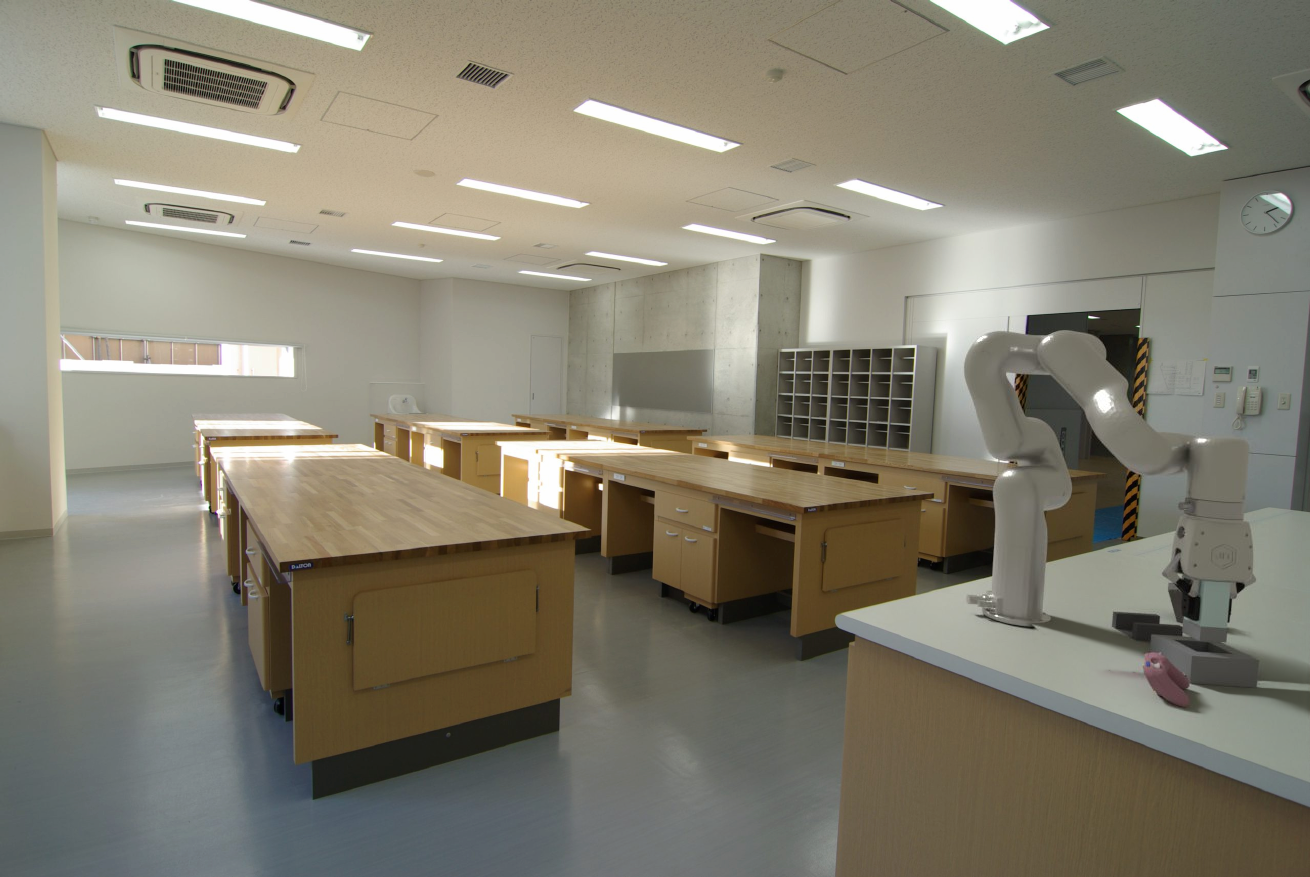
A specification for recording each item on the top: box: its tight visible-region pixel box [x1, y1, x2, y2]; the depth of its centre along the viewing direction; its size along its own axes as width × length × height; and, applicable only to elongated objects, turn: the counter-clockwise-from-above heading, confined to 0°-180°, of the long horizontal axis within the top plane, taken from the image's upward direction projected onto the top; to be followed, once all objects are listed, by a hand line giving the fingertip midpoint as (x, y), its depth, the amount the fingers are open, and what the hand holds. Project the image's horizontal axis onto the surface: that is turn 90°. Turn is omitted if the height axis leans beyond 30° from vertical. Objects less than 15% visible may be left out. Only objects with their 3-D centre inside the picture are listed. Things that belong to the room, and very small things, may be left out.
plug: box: [1182, 580, 1231, 644], centre depth 110 cm, size 4×4×10 cm
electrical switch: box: [1167, 582, 1184, 624], centre depth 138 cm, size 9×5×9 cm, turn 141°
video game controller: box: [1142, 652, 1191, 708], centre depth 102 cm, size 10×5×7 cm, turn 141°
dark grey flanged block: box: [1111, 611, 1184, 643], centre depth 127 cm, size 8×8×4 cm
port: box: [1149, 634, 1260, 689], centre depth 111 cm, size 10×10×5 cm
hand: (1205, 618), depth 110 cm, fingers closed on plug, 4 cm apart
